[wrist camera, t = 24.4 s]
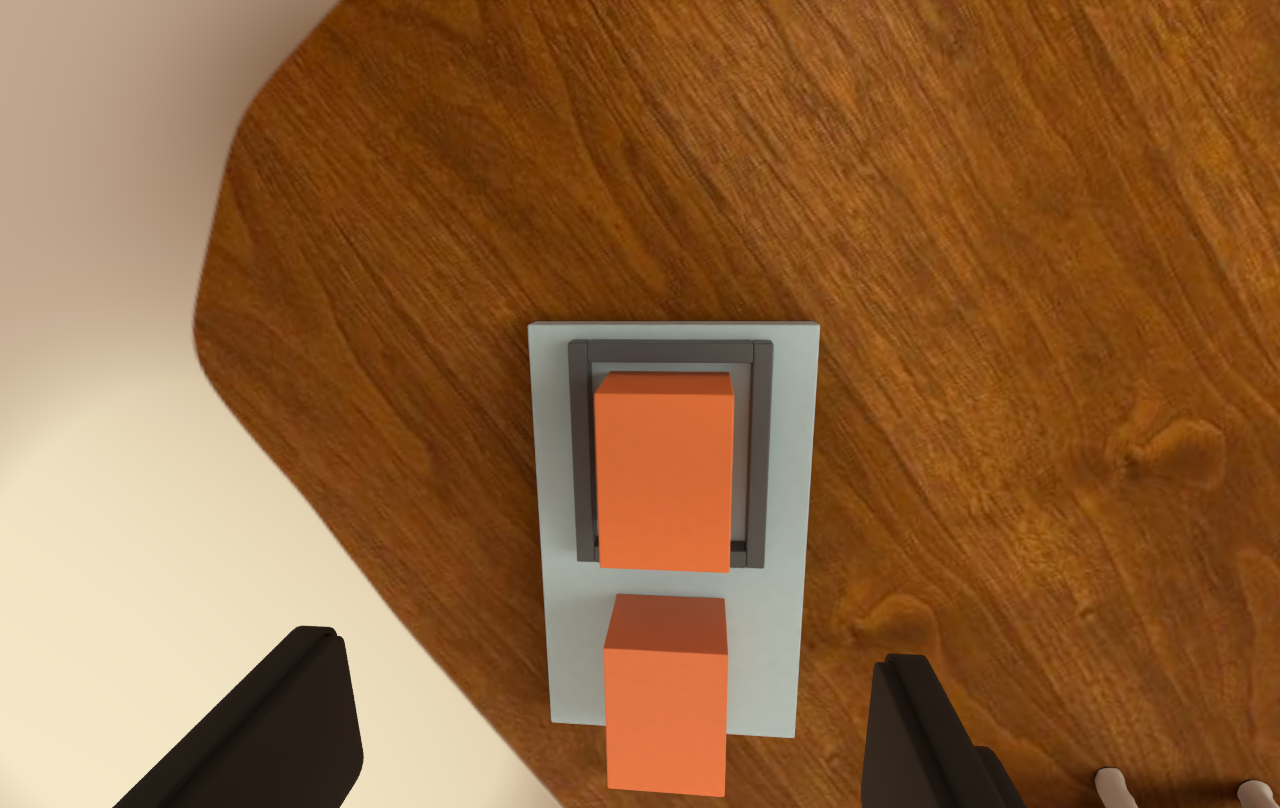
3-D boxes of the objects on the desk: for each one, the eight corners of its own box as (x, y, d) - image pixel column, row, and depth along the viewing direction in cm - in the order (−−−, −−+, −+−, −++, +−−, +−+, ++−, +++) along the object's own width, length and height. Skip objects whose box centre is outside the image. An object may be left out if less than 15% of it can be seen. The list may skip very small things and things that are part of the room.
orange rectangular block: (613, 523, 28) (599, 568, 24) (609, 370, 26) (593, 393, 22) (725, 526, 27) (729, 574, 23) (729, 371, 25) (734, 394, 21)
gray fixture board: (556, 705, 32) (528, 792, 27) (534, 321, 27) (495, 339, 22) (791, 720, 31) (808, 813, 26) (815, 320, 26) (842, 340, 21)
